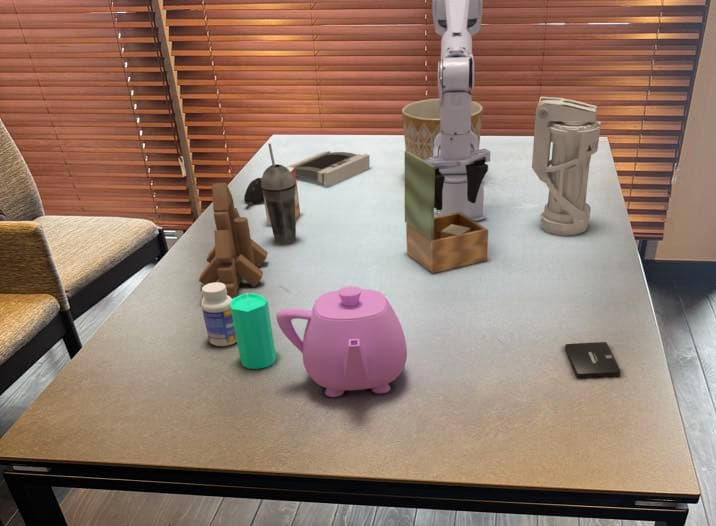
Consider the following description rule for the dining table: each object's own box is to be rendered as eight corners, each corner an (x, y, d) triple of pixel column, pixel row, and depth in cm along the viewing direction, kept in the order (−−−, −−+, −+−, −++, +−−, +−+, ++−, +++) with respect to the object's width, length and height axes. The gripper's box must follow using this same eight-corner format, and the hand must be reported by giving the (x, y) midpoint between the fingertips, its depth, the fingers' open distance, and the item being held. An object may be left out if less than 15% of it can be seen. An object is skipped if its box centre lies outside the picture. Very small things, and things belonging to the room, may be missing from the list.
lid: (407, 150, 152) (404, 151, 152) (435, 166, 144) (432, 167, 144) (407, 221, 161) (404, 221, 161) (433, 240, 153) (430, 240, 153)
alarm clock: (327, 173, 196) (278, 157, 203) (327, 192, 199) (279, 176, 206) (369, 154, 206) (321, 140, 213) (369, 173, 210) (322, 158, 216)
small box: (290, 227, 179) (284, 178, 172) (267, 226, 180) (260, 177, 173) (301, 214, 185) (295, 166, 178) (278, 213, 186) (272, 165, 179)
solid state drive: (605, 345, 133) (606, 341, 133) (620, 375, 126) (621, 371, 125) (564, 347, 133) (565, 343, 133) (576, 377, 126) (577, 374, 125)
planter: (466, 164, 208) (467, 94, 197) (491, 187, 194) (494, 113, 183) (395, 173, 205) (392, 103, 194) (416, 197, 191) (414, 122, 180)
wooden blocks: (213, 253, 169) (196, 165, 157) (271, 250, 169) (258, 162, 157) (195, 305, 150) (173, 209, 138) (260, 302, 150) (244, 206, 139)
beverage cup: (308, 236, 174) (297, 138, 161) (291, 249, 169) (278, 148, 156) (280, 232, 177) (266, 135, 163) (262, 244, 172) (247, 145, 159)
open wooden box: (459, 241, 169) (460, 211, 165) (487, 260, 161) (488, 229, 157) (406, 253, 165) (405, 223, 161) (432, 273, 158) (432, 242, 153)
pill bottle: (235, 347, 137) (224, 294, 131) (205, 346, 138) (193, 293, 131) (243, 332, 141) (234, 280, 135) (214, 332, 142) (203, 279, 135)
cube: (451, 245, 166) (451, 223, 163) (470, 249, 164) (470, 227, 161) (440, 253, 163) (440, 231, 160) (459, 257, 161) (459, 235, 158)
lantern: (589, 219, 176) (604, 94, 160) (586, 237, 169) (602, 107, 152) (531, 216, 179) (540, 93, 162) (526, 234, 171) (534, 106, 155)
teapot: (284, 424, 119) (269, 332, 109) (287, 358, 134) (275, 272, 124) (414, 414, 120) (411, 322, 109) (403, 350, 134) (400, 264, 124)
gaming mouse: (234, 208, 189) (231, 190, 187) (259, 187, 200) (256, 171, 197) (258, 209, 188) (256, 192, 185) (282, 189, 199) (279, 172, 196)
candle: (242, 352, 136) (229, 285, 128) (277, 350, 136) (266, 283, 128) (239, 370, 131) (226, 301, 123) (275, 367, 132) (264, 299, 124)
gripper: (431, 142, 143) (431, 218, 153) (499, 129, 148) (496, 204, 157) (413, 133, 148) (415, 207, 157) (480, 121, 153) (478, 194, 162)
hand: (454, 205), depth 158 cm, fingers open, 7 cm apart
